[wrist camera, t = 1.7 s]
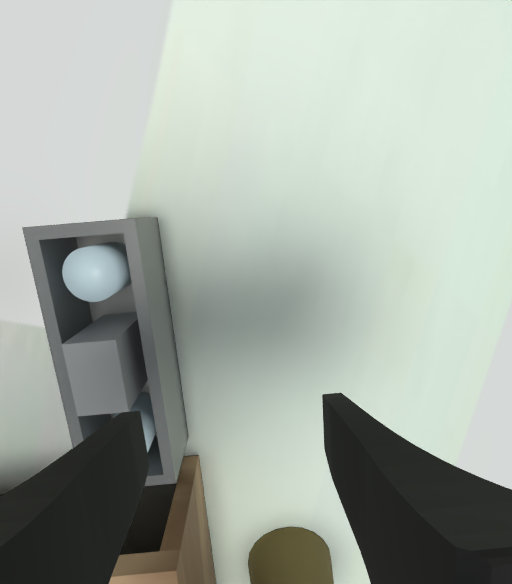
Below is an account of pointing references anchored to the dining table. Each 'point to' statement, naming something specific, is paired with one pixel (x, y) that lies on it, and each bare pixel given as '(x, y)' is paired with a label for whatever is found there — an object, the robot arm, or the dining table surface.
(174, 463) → the tray
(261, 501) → the dining table surface
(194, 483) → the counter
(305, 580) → the cork
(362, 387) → the dining table surface
